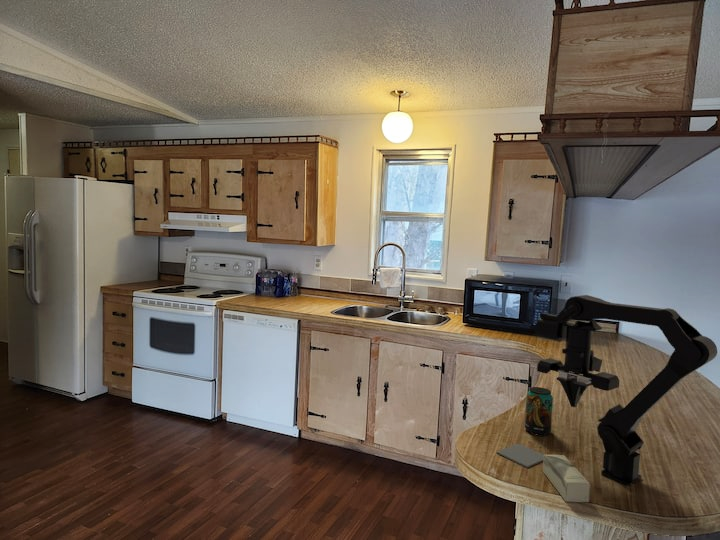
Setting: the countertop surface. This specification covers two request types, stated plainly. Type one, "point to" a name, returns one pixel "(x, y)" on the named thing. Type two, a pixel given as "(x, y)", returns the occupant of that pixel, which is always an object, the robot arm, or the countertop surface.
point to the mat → (522, 455)
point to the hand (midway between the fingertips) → (573, 406)
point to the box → (566, 478)
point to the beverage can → (539, 411)
